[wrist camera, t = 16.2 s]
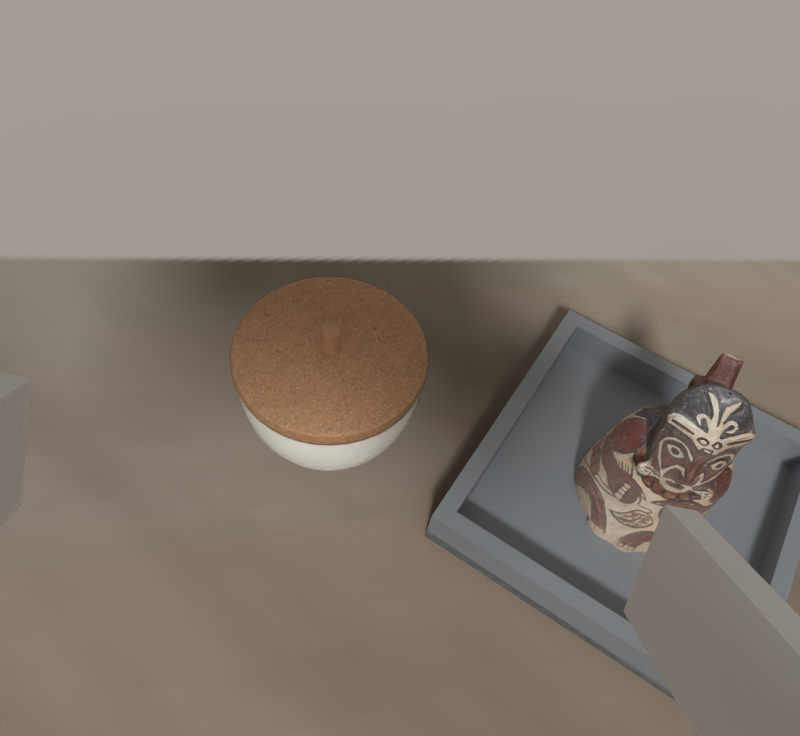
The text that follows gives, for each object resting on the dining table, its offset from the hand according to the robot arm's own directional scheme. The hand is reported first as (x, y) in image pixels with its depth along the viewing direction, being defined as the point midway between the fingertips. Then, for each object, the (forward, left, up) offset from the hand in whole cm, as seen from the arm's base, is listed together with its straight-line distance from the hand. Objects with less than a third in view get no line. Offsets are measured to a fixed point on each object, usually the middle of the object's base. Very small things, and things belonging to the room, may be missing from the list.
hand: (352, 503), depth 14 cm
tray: (+8, +18, -24) cm, 32 cm away
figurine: (+8, +18, -24) cm, 31 cm away
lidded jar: (-10, +12, -25) cm, 29 cm away
